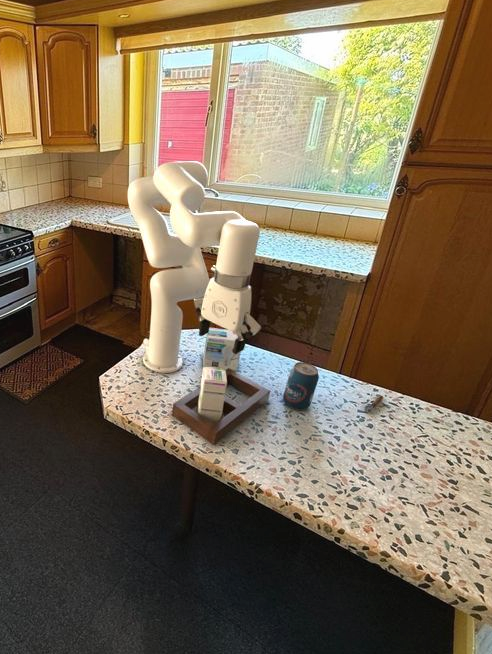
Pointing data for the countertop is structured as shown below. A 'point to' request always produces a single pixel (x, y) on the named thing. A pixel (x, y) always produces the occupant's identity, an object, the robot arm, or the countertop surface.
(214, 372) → the syrup box
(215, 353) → the light bulb box
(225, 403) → the caddy
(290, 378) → the soda can
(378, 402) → the can opener
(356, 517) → the countertop surface
